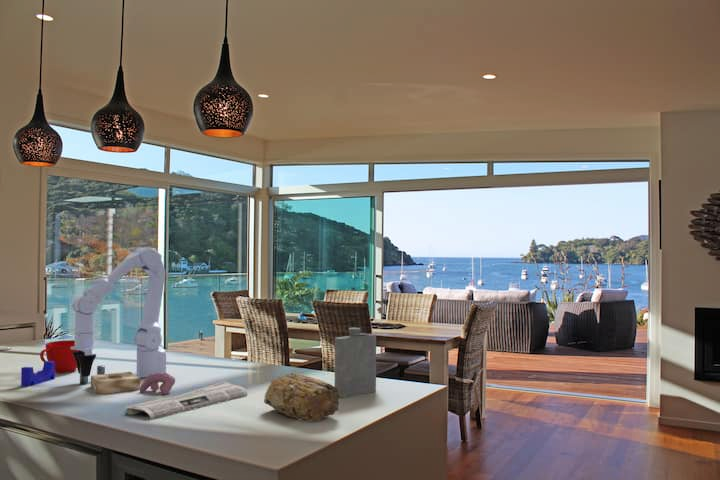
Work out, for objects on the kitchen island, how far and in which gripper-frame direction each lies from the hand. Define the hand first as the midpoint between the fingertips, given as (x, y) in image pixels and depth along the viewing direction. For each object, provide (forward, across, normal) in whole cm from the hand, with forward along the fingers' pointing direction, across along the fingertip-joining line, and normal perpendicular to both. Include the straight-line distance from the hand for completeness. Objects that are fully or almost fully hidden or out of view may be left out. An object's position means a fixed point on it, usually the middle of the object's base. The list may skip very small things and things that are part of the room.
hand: (83, 374), depth 203 cm
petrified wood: (+3, +72, +41) cm, 83 cm away
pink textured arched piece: (+3, +24, +17) cm, 30 cm away
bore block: (+3, +12, +7) cm, 14 cm away
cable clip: (+3, -11, -12) cm, 17 cm away
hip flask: (+3, +59, +66) cm, 89 cm away
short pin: (+3, -4, +6) cm, 8 cm away
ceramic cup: (+3, -26, -3) cm, 26 cm away
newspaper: (+4, +44, +20) cm, 48 cm away
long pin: (+3, 0, 0) cm, 3 cm away
